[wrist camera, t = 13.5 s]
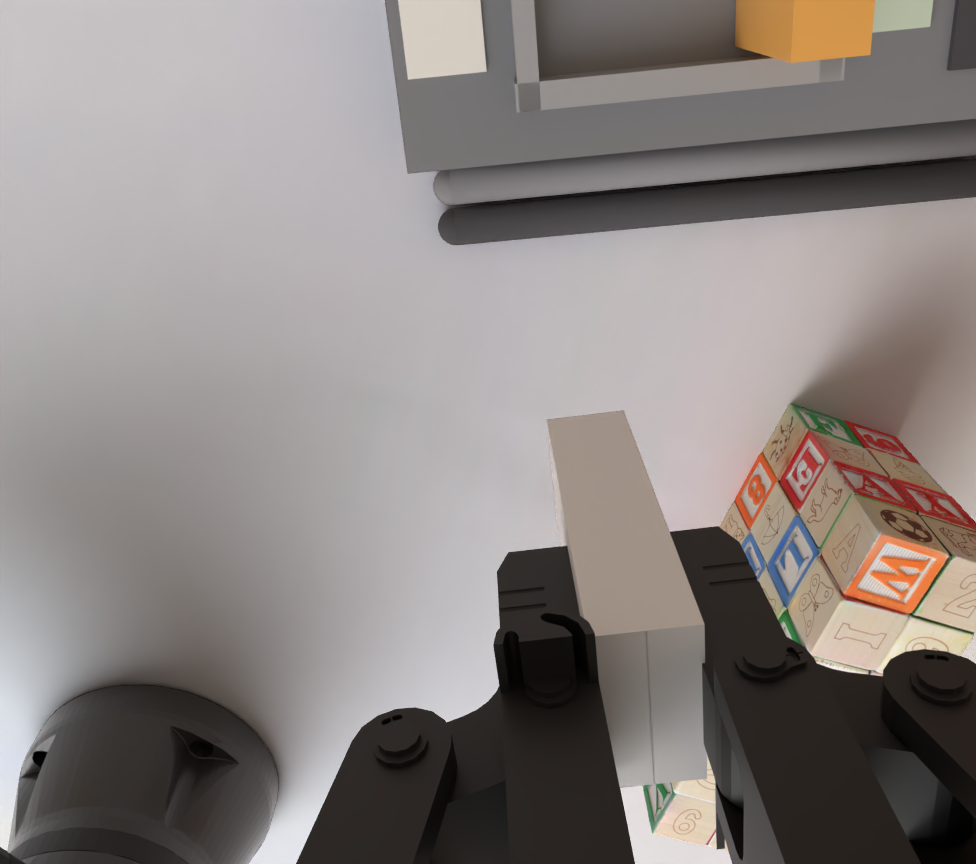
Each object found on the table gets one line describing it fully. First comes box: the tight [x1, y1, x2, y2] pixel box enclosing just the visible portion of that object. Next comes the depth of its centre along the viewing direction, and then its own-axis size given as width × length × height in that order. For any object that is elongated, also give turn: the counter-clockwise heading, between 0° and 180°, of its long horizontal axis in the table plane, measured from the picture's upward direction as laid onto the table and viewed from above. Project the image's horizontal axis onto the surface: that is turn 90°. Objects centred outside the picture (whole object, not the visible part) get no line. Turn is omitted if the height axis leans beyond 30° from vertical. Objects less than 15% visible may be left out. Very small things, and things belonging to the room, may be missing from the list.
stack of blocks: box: [641, 404, 976, 851], centre depth 45 cm, size 21×6×12 cm, turn 161°
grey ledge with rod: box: [433, 119, 976, 245], centre depth 39 cm, size 25×3×2 cm, turn 95°
